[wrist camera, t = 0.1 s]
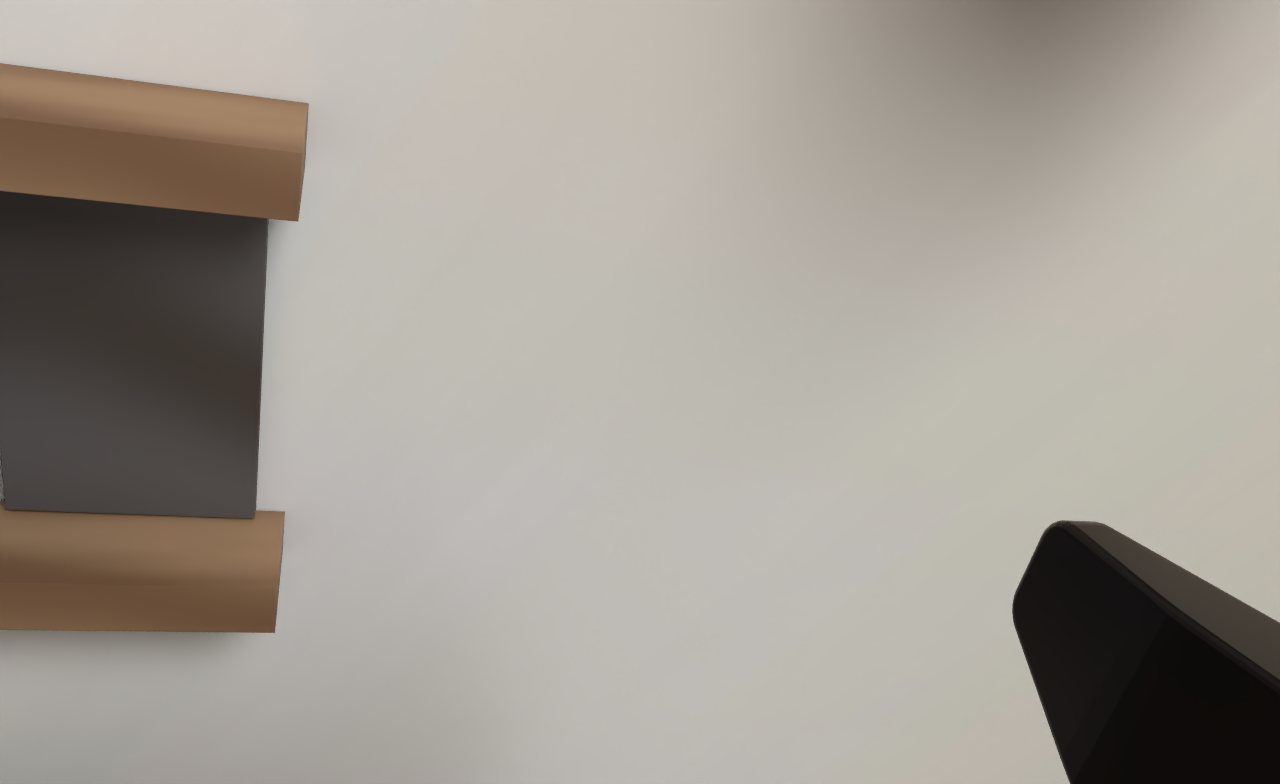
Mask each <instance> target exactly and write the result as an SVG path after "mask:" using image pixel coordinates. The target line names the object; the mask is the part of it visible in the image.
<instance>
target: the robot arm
mask: <svg viewBox="0 0 1280 784" xmlns="http://www.w3.org/2000/svg"><path fill="white" fill-rule="evenodd" d="M1012 614H1013V621H1014V625H1015V629H1016V632H1017V635H1018V637H1019V640H1020V643H1021V646H1022V649H1023V652H1024V655H1025V658H1026V660H1027V663H1028V666H1029V669H1030V672H1031V675H1032V678H1033V680H1034V683H1035V686H1036V689H1037V692H1038V695H1039V698H1040V701H1041V703H1042V706H1043V709H1044V712H1045V715H1046V718H1047V721H1048V724H1049V726H1050V729H1051V732H1052V735H1053V738H1054V741H1055V744H1056V746H1057V749H1058V752H1059V755H1060V758H1061V761H1062V763H1063V766H1064V769H1065V771H1066V774H1067V777H1068V779H1069V782H1070V784H1280V623H1279V622H1277V621H1276V620H1274V619H1272V618H1270V617H1269V616H1267V615H1265V614H1263V613H1261V612H1260V611H1258V610H1256V609H1254V608H1253V607H1251V606H1249V605H1247V604H1246V603H1244V602H1242V601H1240V600H1238V599H1237V598H1235V597H1233V596H1231V595H1230V594H1228V593H1226V592H1224V591H1222V590H1221V589H1219V588H1217V587H1215V586H1214V585H1212V584H1210V583H1208V582H1207V581H1205V580H1203V579H1201V578H1199V577H1198V576H1196V575H1194V574H1192V573H1191V572H1189V571H1187V570H1185V569H1183V568H1182V567H1180V566H1178V565H1176V564H1175V563H1173V562H1171V561H1169V560H1168V559H1166V558H1164V557H1162V556H1160V555H1159V554H1157V553H1155V552H1153V551H1152V550H1150V549H1148V548H1146V547H1144V546H1143V545H1141V544H1139V543H1137V542H1136V541H1134V540H1132V539H1130V538H1129V537H1127V536H1125V535H1123V534H1121V533H1120V532H1118V531H1116V530H1114V529H1113V528H1111V527H1109V526H1107V525H1105V524H1102V523H1098V522H1089V521H1065V520H1062V521H1058V522H1055V523H1053V524H1051V525H1050V526H1049V527H1048V528H1047V529H1046V530H1045V531H1044V533H1043V535H1042V536H1041V539H1040V541H1039V543H1038V545H1037V547H1036V549H1035V551H1034V553H1033V556H1032V558H1031V560H1030V562H1029V564H1028V566H1027V568H1026V571H1025V573H1024V575H1023V577H1022V579H1021V581H1020V583H1019V586H1018V588H1017V590H1016V592H1015V595H1014V600H1013V609H1012Z"/></svg>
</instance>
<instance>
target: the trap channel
mask: <svg viewBox="0 0 1280 784" xmlns="http://www.w3.org/2000/svg"><path fill="white" fill-rule="evenodd" d="M307 121H308V103H300V102H293V101H285V100H277V99H270V98H262V97H254V96H247V95H239V94H231V93H224V92H216V91H208V90H201V89H193V88H185V87H177V86H170V85H162V84H154V83H147V82H139V81H131V80H124V79H116V78H108V77H101V76H93V75H85V74H78V73H70V72H62V71H55V70H47V69H39V68H31V67H24V66H16V65H8V64H1V63H0V452H1V463H2V474H3V485H4V496H5V501H0V630H72V631H164V632H256V633H275V625H276V615H277V604H278V593H279V583H280V572H281V562H282V549H283V532H284V515H285V512H275V511H256V496H257V472H258V449H259V426H260V403H261V379H262V356H263V333H264V309H265V286H266V263H267V240H268V218H269V219H279V220H288V221H298V219H299V210H300V202H301V194H302V186H303V178H304V170H305V156H306V138H307Z"/></svg>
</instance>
